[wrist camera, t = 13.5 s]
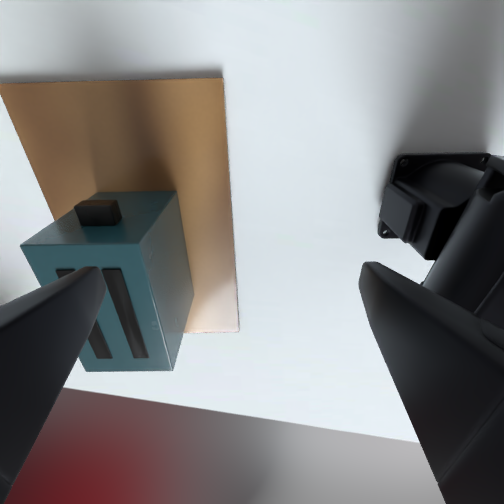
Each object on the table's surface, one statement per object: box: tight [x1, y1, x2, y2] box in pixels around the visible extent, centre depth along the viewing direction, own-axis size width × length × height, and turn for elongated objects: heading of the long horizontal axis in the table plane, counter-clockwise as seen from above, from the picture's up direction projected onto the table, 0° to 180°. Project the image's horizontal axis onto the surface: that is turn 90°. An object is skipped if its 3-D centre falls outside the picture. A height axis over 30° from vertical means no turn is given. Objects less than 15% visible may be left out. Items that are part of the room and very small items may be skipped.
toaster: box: [20, 191, 194, 372], centre depth 19 cm, size 11×6×8 cm, turn 1°
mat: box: [0, 78, 239, 333], centre depth 23 cm, size 14×22×1 cm, turn 1°
